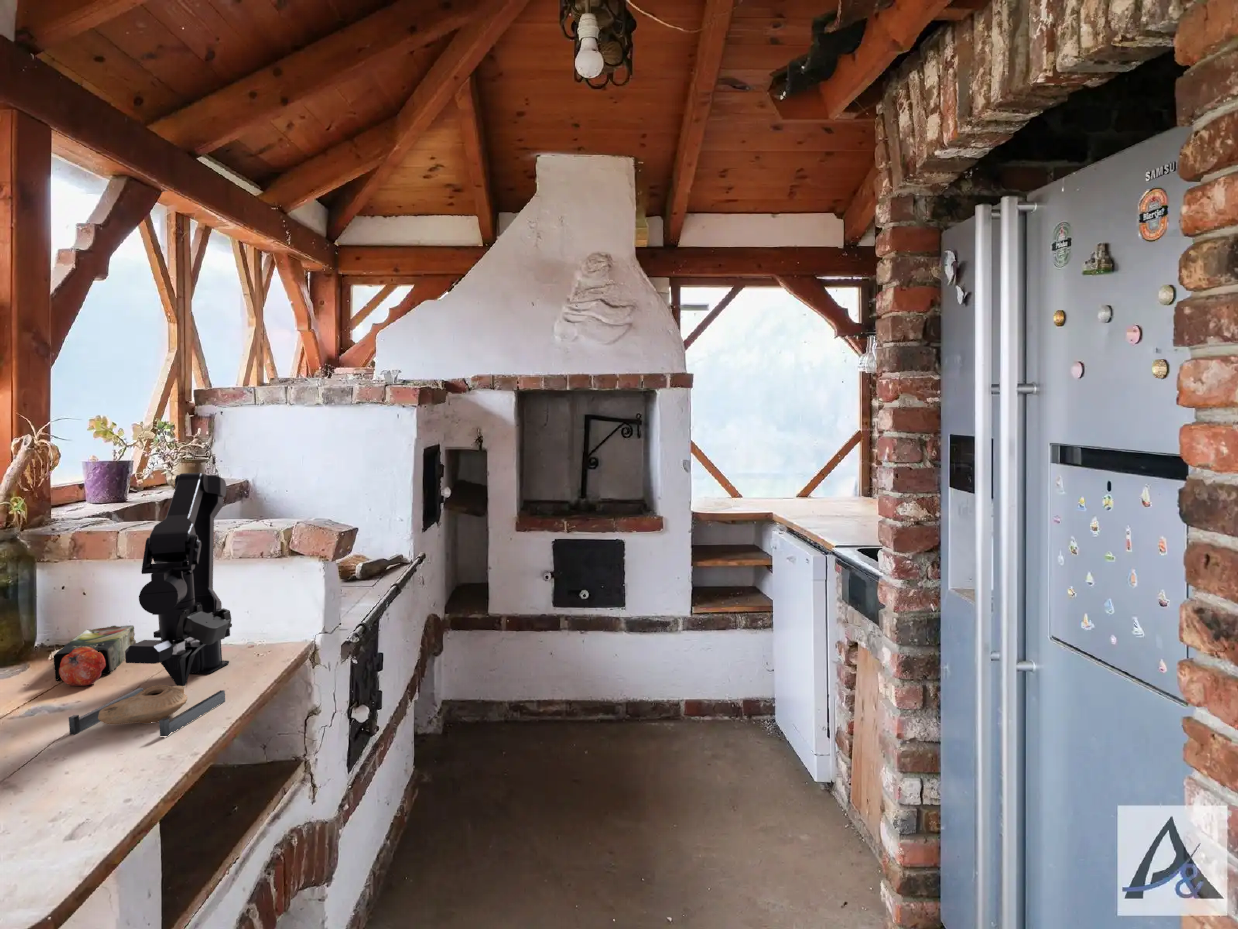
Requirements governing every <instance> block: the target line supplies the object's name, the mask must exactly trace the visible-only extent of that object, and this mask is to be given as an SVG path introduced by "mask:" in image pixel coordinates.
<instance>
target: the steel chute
mask: <svg viewBox="0 0 1238 929" xmlns="http://www.w3.org/2000/svg"><path fill="white" fill-rule="evenodd" d="M143 690H144V688H143V687H138V688H136V689H134V690H132V691H129V692H128V693H125V694H124V695H122V696H120V697H118V698H115V699H114V700H111V701H109V702H108V703H105V704H104V705H101V706H99V707H97V708H95V709H94V710H91V711H90V712H87V713H85V714H83V715H81V716H79V714H73V715H71V716H68V727H69V728H68V729H69V735H77V734H79V733H80V732H82V731H85V730H86V729H88V728H90V727H92V726H94V725H96V724H98V723H100V722H101V721H100V720H99V719H98V715H99V712H100V710H102V709H103V708H105V707H108V706H110V705H112V704H114V703H117V702H119V701H121V700H124V699H127V698H130V697H133V696H135V695H137V694H138V693H139V692H141V691H143ZM223 702H224V703H225V702H226V690H224V689H223V690H218V691H217V692H215V693H213V694H211V695H210V696H208V697H207V698H205V699H203V700H201V701H200V702H198V703H196V704H194V705H193V706H191V707H189V708H188V709H185V710H184V711H182V712H181V713H179V714H177V715H176V716H174V717H172V718H170V719H169V717H168V718H163V719H161V720H159V722H158V725H159V726H158V727H159V737H160V736H168V735H169V734H170V733H171V732H174V731H176V730H177V729H179V730H181V729H182V728H181V727H182V726H184V727H185V725H186V724H187V723H189V722H191V721H192V720H194V719H196V718H197V717H199V716H200V715H202V716H204V715H205V714H204V713H205V712H207V713H209V712H210V711H209V710H211V709H212V708H214V707H216V706H217V705H219V704H220V705H222V704H224V703H223ZM221 703H222V704H221ZM220 705H219V706H220ZM217 707H218V706H217ZM217 707H216V708H217ZM214 709H215V708H214ZM212 710H213V709H212ZM212 710H211V711H212ZM208 711H209V712H208ZM203 714H204V715H203ZM199 718H200V717H199ZM197 719H198V718H197ZM197 719H196V720H197ZM194 721H195V720H194ZM192 722H193V721H192ZM192 722H191V723H192ZM189 724H190V723H189ZM187 725H188V724H187ZM187 725H186V726H187ZM180 728H181V729H180ZM176 732H177V731H176ZM174 733H175V732H174ZM168 737H169V736H168Z"/></svg>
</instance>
